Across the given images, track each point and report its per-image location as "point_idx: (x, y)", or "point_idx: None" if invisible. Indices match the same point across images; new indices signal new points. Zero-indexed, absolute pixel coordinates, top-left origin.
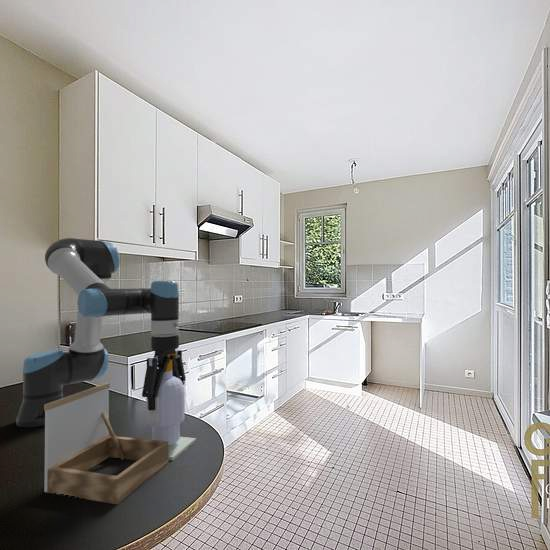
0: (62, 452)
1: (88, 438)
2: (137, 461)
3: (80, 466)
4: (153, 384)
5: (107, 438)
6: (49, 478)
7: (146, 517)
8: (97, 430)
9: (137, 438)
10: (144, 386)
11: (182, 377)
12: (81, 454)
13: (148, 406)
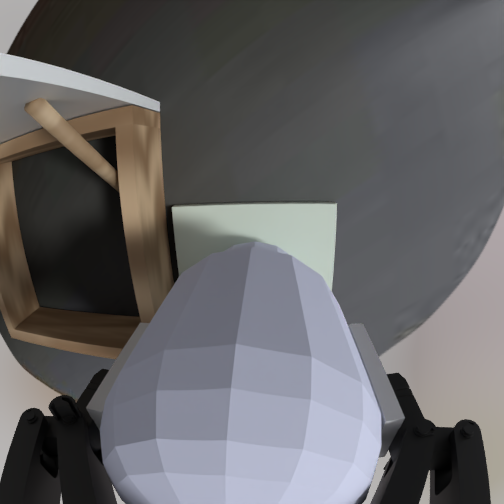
0: None
1: (29, 125)
2: (55, 340)
3: (39, 150)
4: (51, 497)
5: (107, 126)
6: None
7: (48, 368)
8: None
9: (142, 249)
10: (13, 456)
11: (432, 481)
12: (20, 152)
13: (90, 384)
